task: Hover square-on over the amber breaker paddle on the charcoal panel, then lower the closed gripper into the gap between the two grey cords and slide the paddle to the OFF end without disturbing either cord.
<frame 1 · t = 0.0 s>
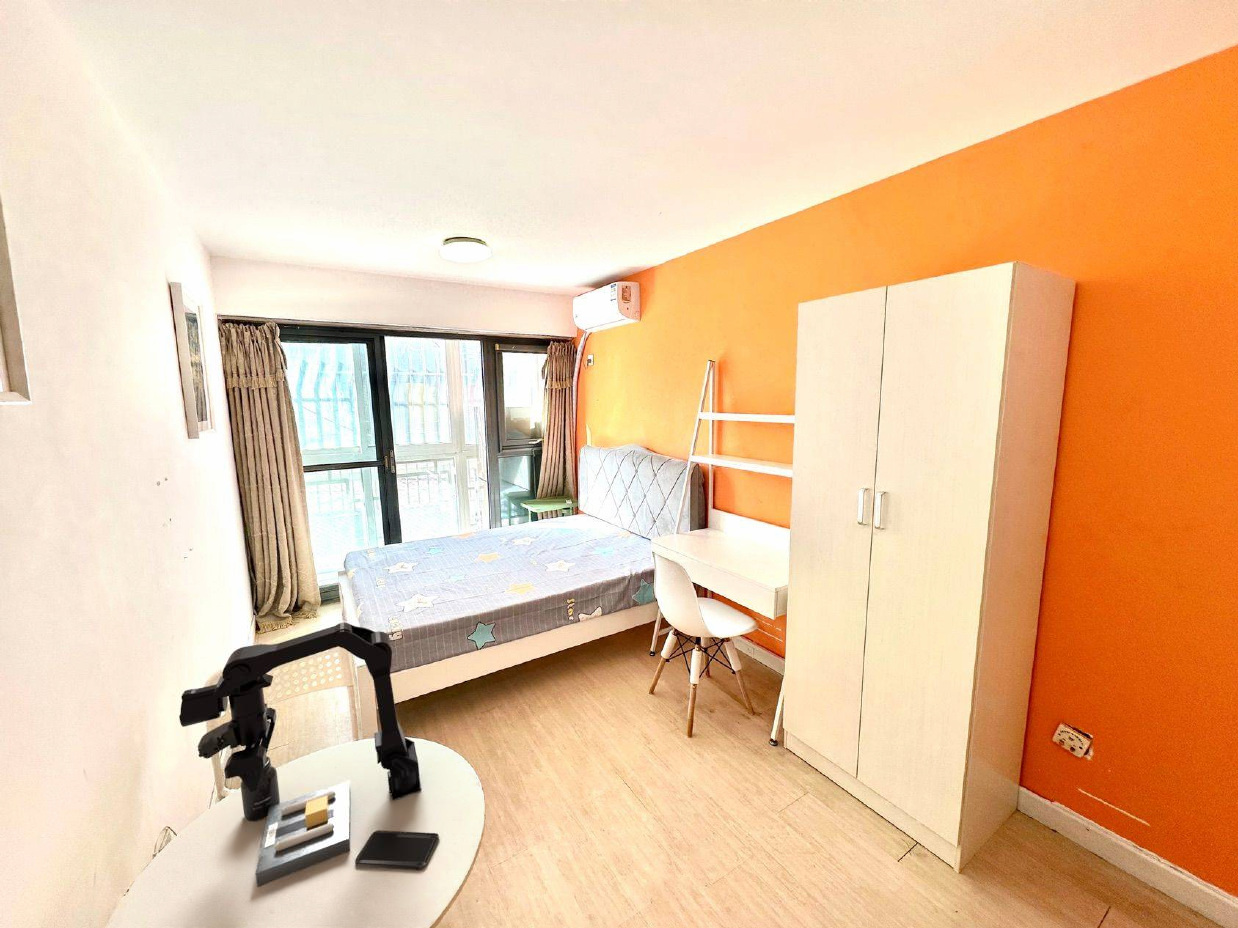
hand: (257, 775, 106), 15 cm above the table, fingers open, 9 cm apart
breaker paddle: (317, 811, 109), point 5 cm above the table, slide at 0.0 cm
phone: (398, 852, 104), on the table
supplement bottle: (263, 810, 116), on the table
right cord: (309, 805, 113), point 3 cm above the table, touching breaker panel
left cord: (305, 839, 104), point 3 cm above the table, touching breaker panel
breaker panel: (308, 834, 109), on the table
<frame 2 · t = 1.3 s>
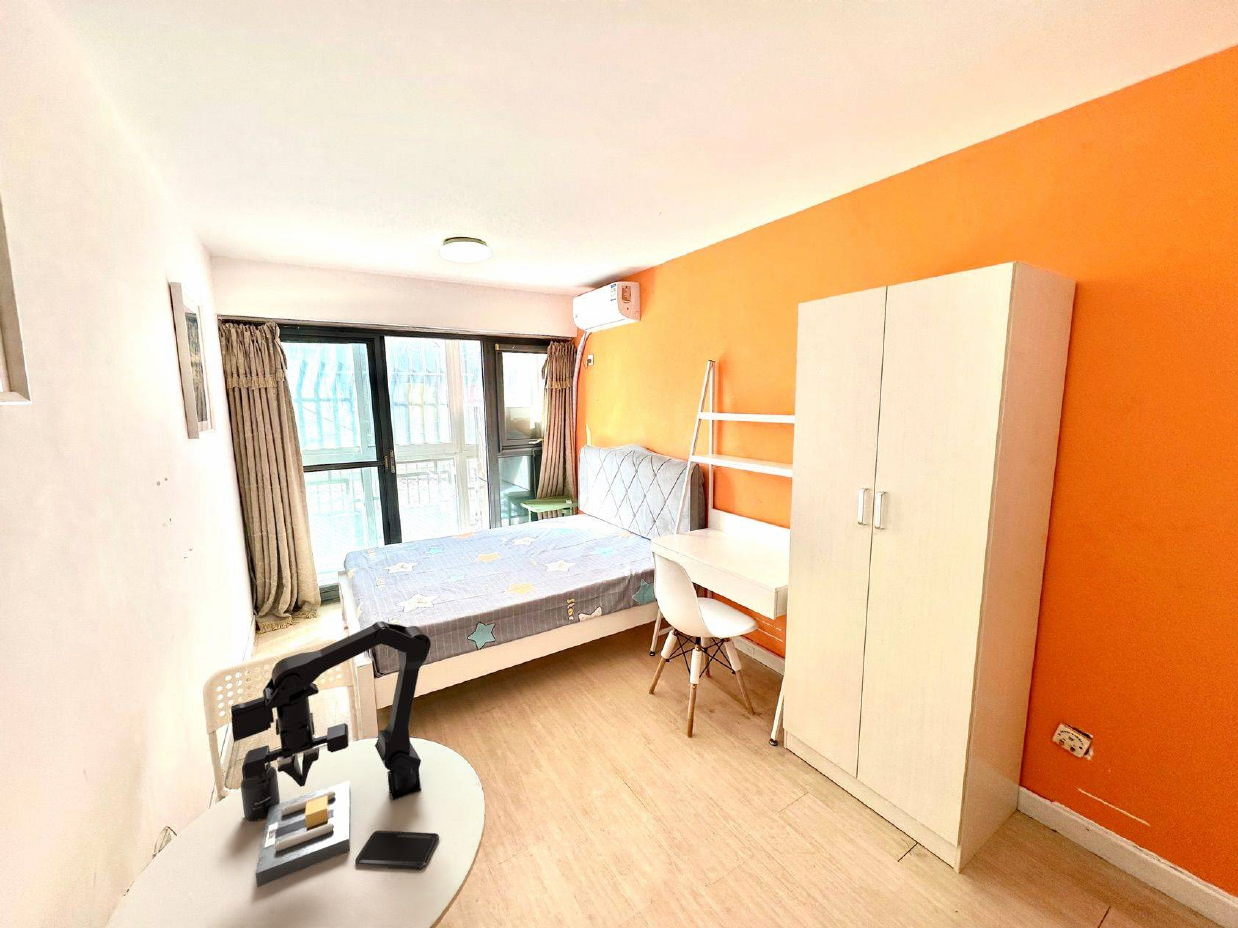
hand: (302, 784, 107), 12 cm above the table, fingers closed
nothing on the table moved.
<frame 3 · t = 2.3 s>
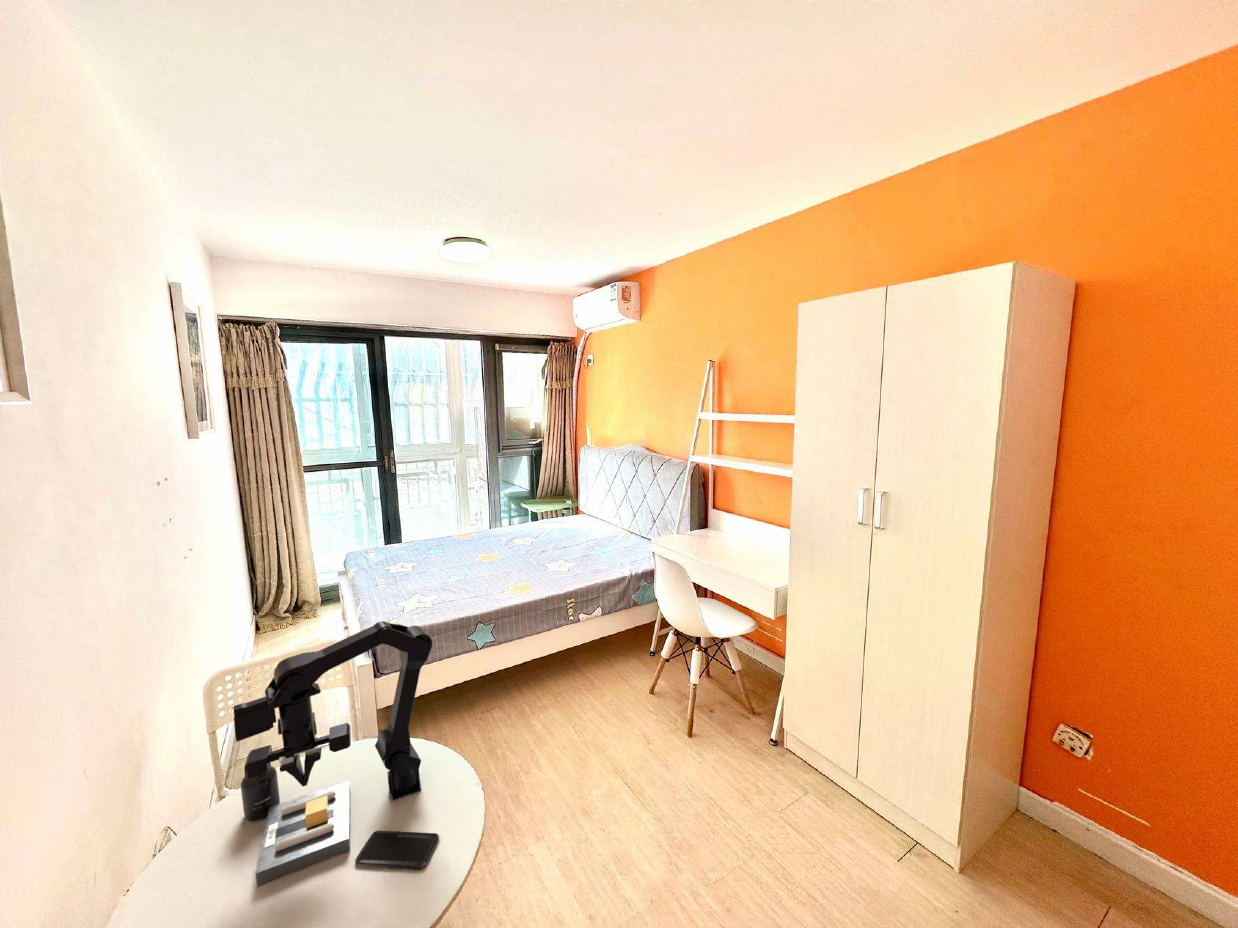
hand: (305, 784, 107), 12 cm above the table, fingers closed
nothing on the table moved.
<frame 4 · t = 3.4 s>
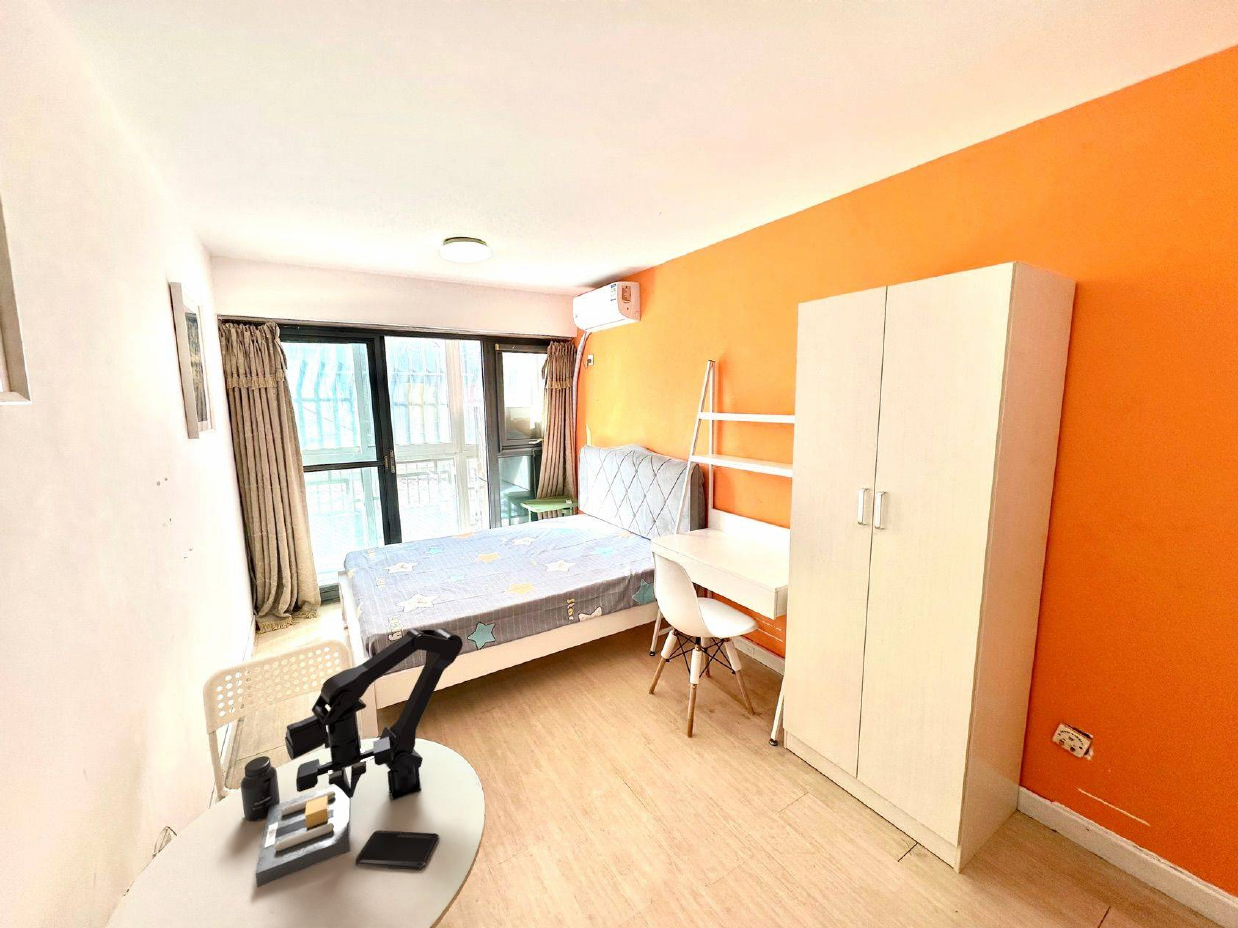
hand: (350, 796, 112), 5 cm above the table, fingers closed
nothing on the table moved.
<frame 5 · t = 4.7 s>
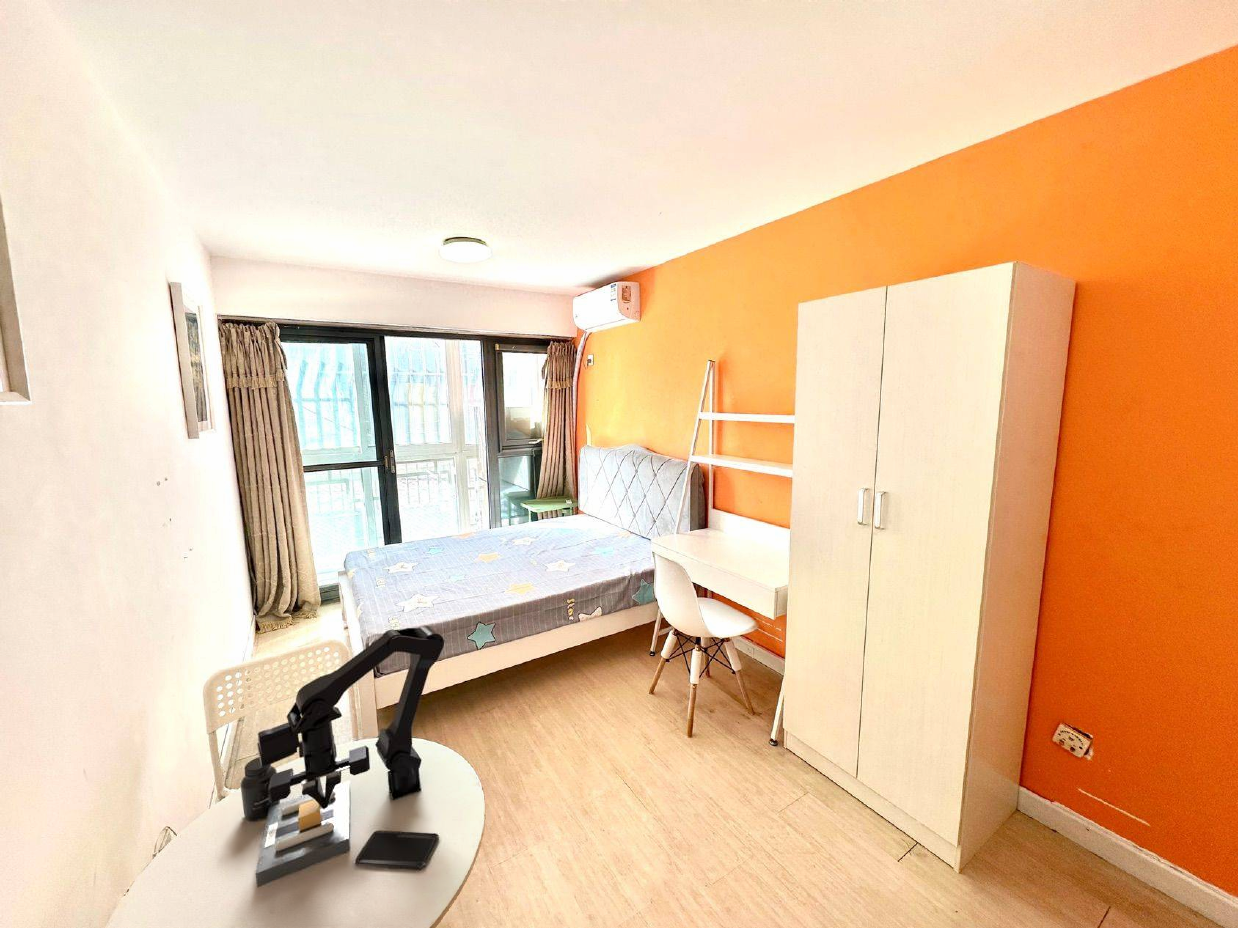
hand: (325, 806, 110), 5 cm above the table, fingers closed
breaker paddle: (310, 813, 108), point 5 cm above the table, slide at 1.3 cm, touching gripper
everything else where it was.
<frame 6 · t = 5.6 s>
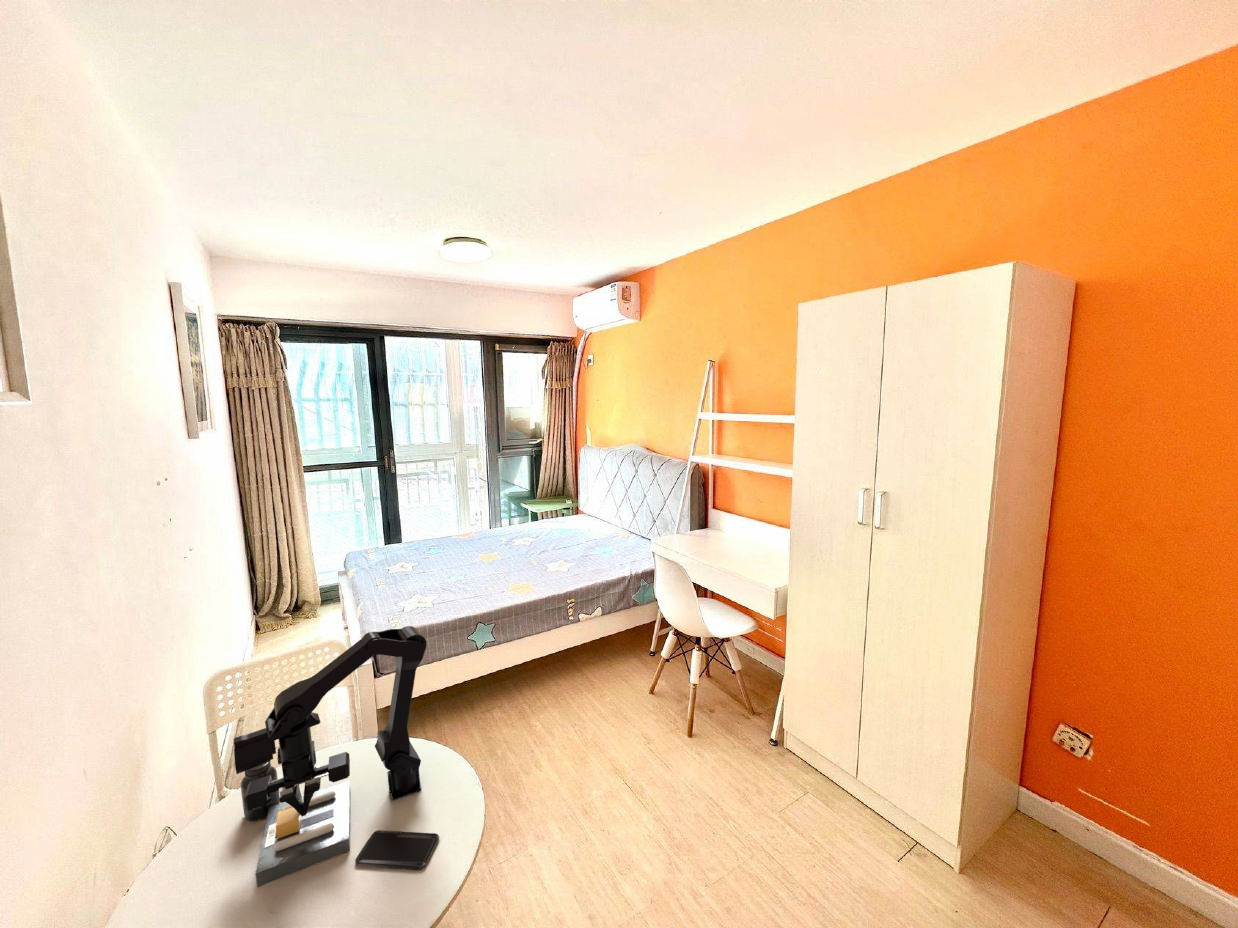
hand: (304, 814, 108), 5 cm above the table, fingers closed
breaker paddle: (288, 821, 107), point 5 cm above the table, slide at 5.2 cm, touching gripper
everything else where it was.
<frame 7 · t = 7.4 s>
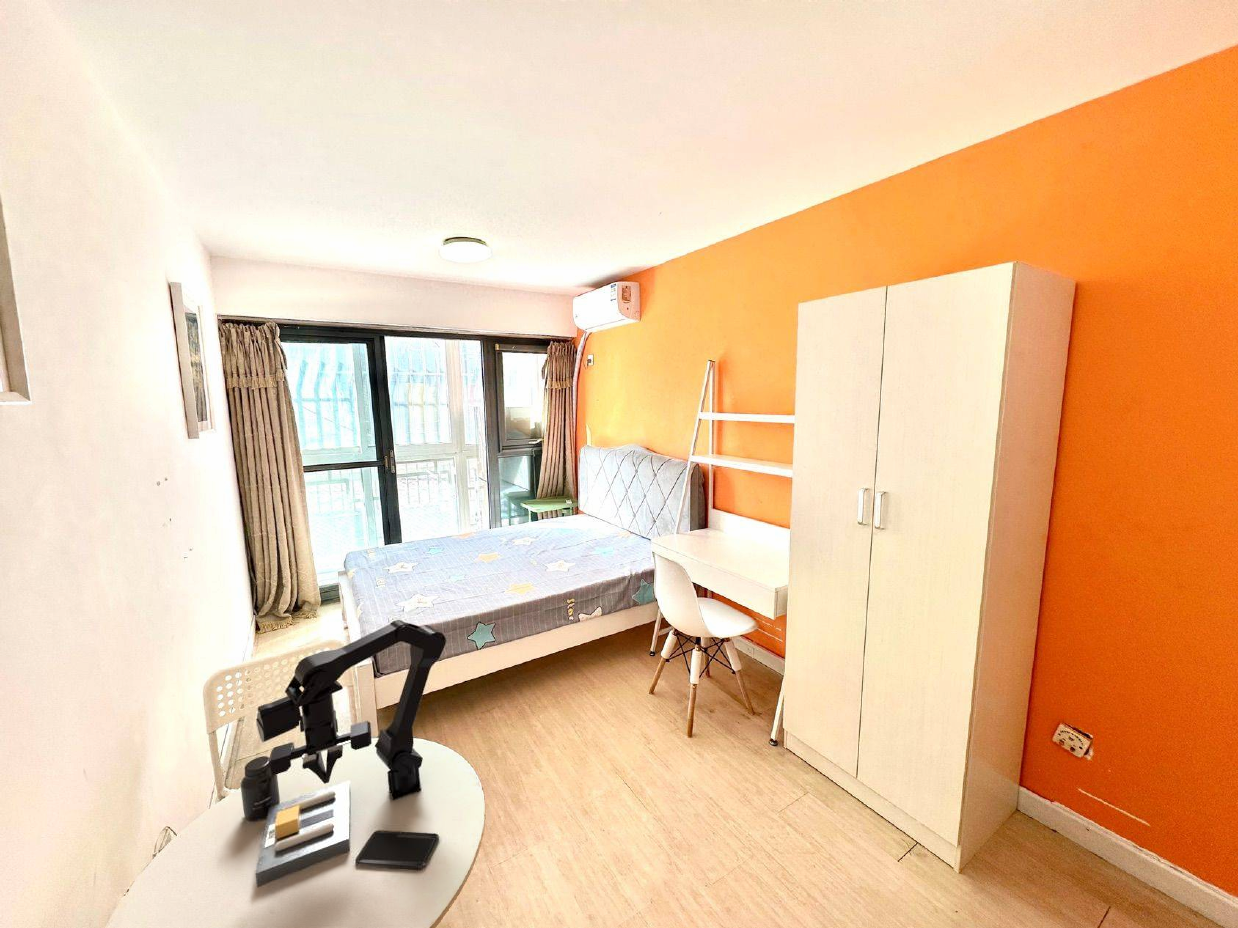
hand: (326, 781, 108), 12 cm above the table, fingers closed
breaker paddle: (288, 821, 107), point 5 cm above the table, slide at 5.4 cm
everything else where it was.
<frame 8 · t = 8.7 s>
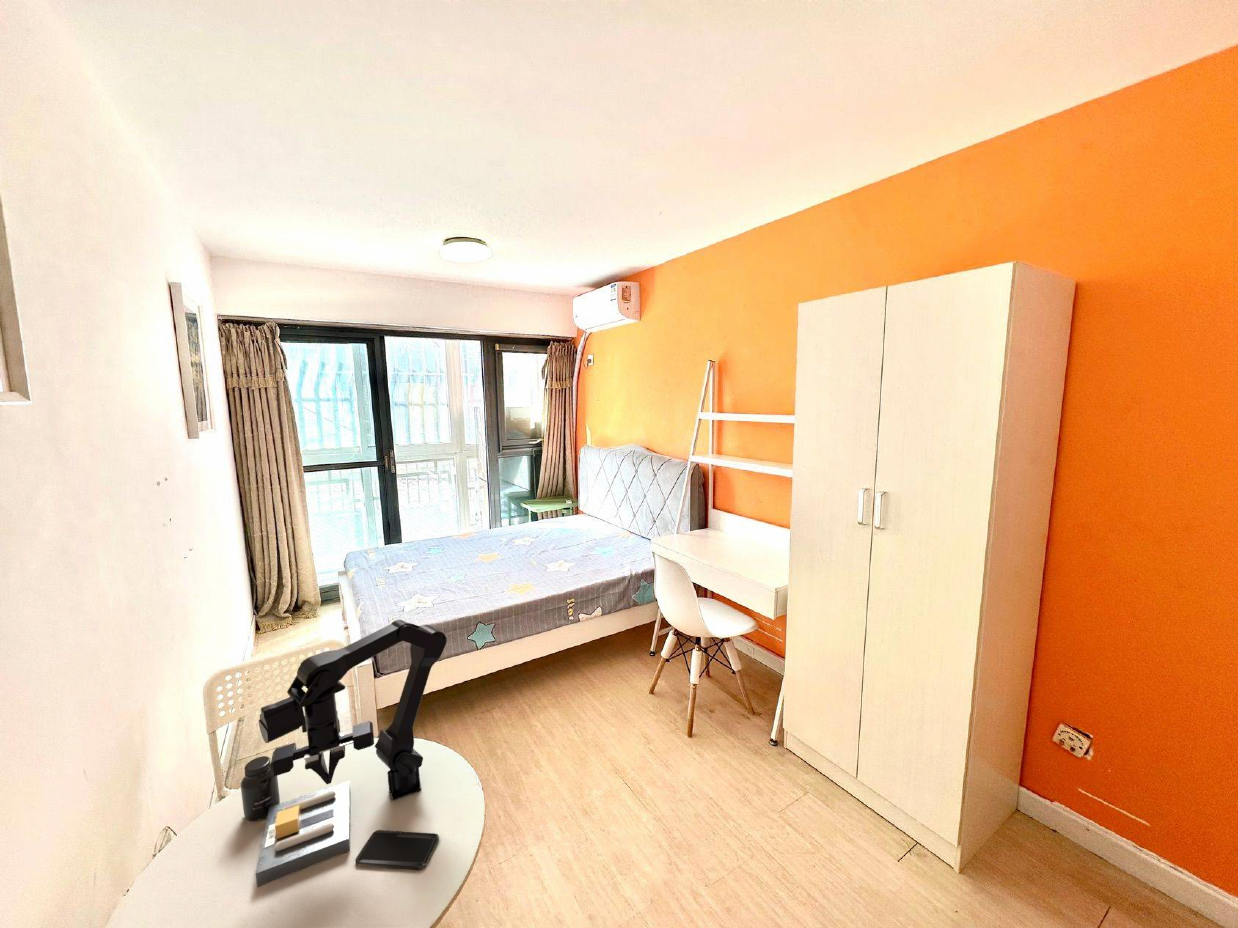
hand: (329, 782, 108), 12 cm above the table, fingers closed
nothing on the table moved.
at the end: breaker paddle slide at 5.4 cm; left cord moved 0.0 cm from its start; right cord moved 0.0 cm from its start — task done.
